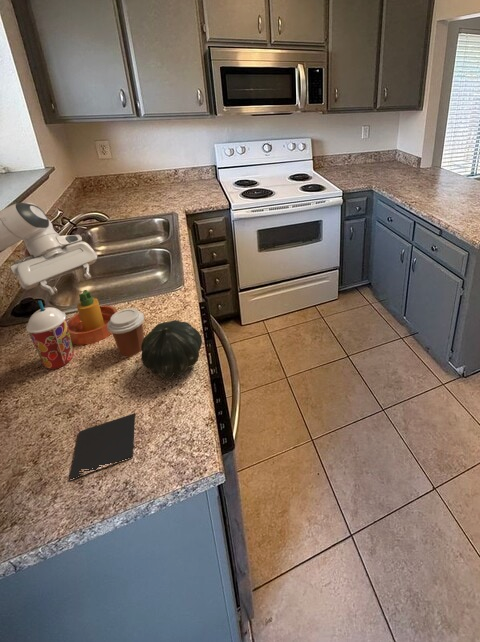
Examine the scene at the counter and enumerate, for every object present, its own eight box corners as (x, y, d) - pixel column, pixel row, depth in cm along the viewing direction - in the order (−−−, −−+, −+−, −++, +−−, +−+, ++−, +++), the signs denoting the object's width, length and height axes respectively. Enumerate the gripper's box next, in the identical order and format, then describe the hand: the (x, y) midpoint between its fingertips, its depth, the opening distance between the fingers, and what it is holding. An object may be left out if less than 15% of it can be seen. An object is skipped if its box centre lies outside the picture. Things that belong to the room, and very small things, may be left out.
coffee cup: (118, 343, 105) (109, 309, 101) (151, 336, 108) (144, 302, 103) (111, 365, 97) (102, 329, 93) (148, 357, 100) (140, 322, 95)
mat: (69, 481, 69) (69, 479, 69) (79, 432, 79) (79, 431, 78) (132, 457, 73) (132, 456, 73) (135, 414, 83) (134, 413, 83)
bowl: (64, 351, 102) (60, 339, 100) (73, 323, 113) (70, 312, 112) (118, 338, 107) (114, 326, 105) (121, 312, 118) (118, 301, 117)
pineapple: (83, 337, 106) (71, 299, 102) (86, 326, 111) (75, 289, 106) (103, 332, 109) (93, 294, 104) (105, 321, 113) (96, 285, 108)
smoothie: (85, 356, 100) (66, 296, 93) (53, 378, 93) (30, 314, 86) (66, 347, 103) (47, 288, 96) (34, 368, 96) (11, 305, 89)
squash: (177, 319, 106) (145, 307, 94) (219, 333, 101) (191, 323, 89) (154, 369, 101) (116, 364, 88) (197, 386, 96) (163, 383, 83)
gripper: (7, 258, 100) (33, 299, 99) (85, 233, 116) (108, 267, 115) (6, 268, 104) (31, 307, 102) (81, 242, 120) (103, 275, 119)
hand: (72, 286), depth 109 cm, fingers open, 8 cm apart
